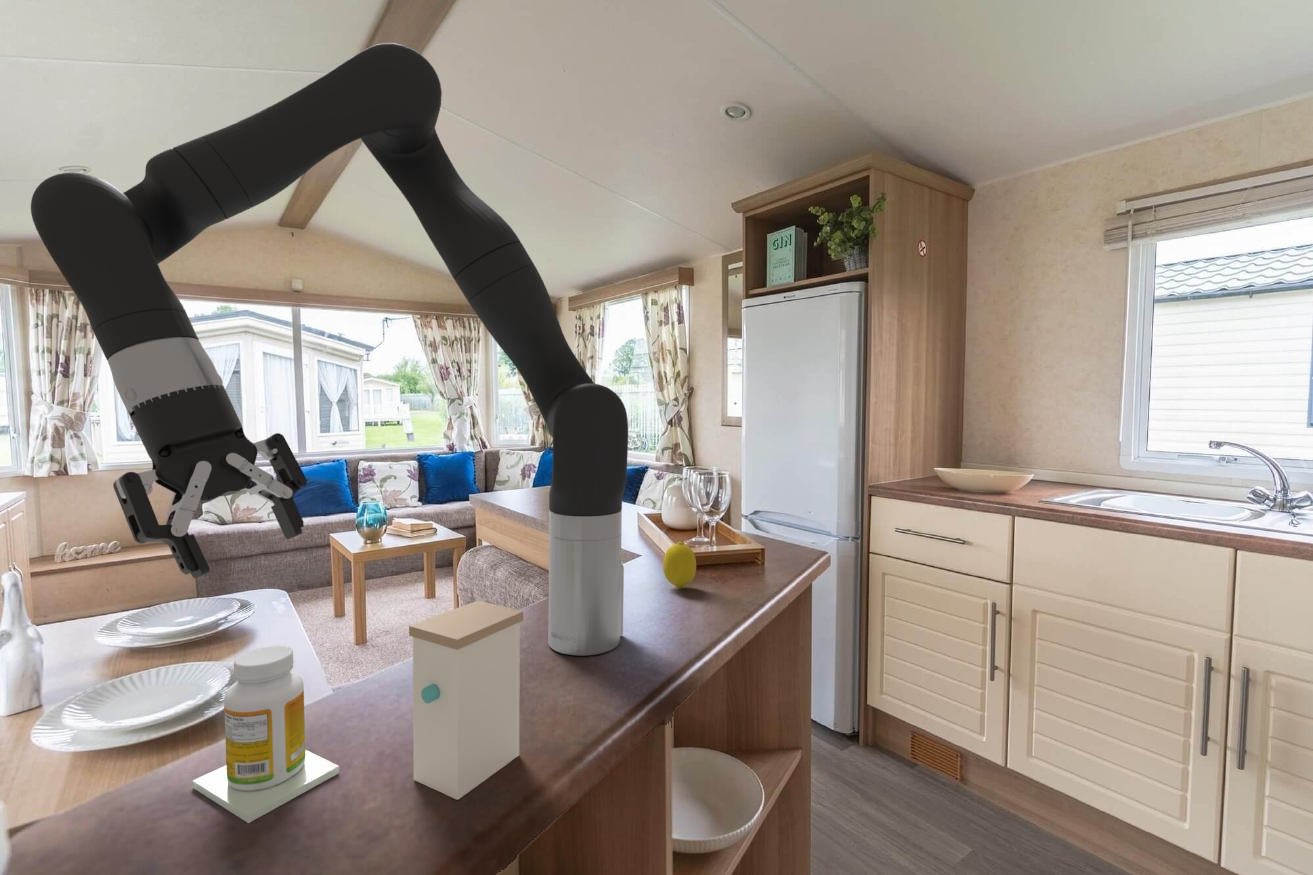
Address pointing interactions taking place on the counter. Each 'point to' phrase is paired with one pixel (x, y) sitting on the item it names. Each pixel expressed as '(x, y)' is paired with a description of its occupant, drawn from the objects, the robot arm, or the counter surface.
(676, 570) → the lemon
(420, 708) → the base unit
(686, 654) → the counter surface
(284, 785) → the plate
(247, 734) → the supplement bottle
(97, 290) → the robot arm
